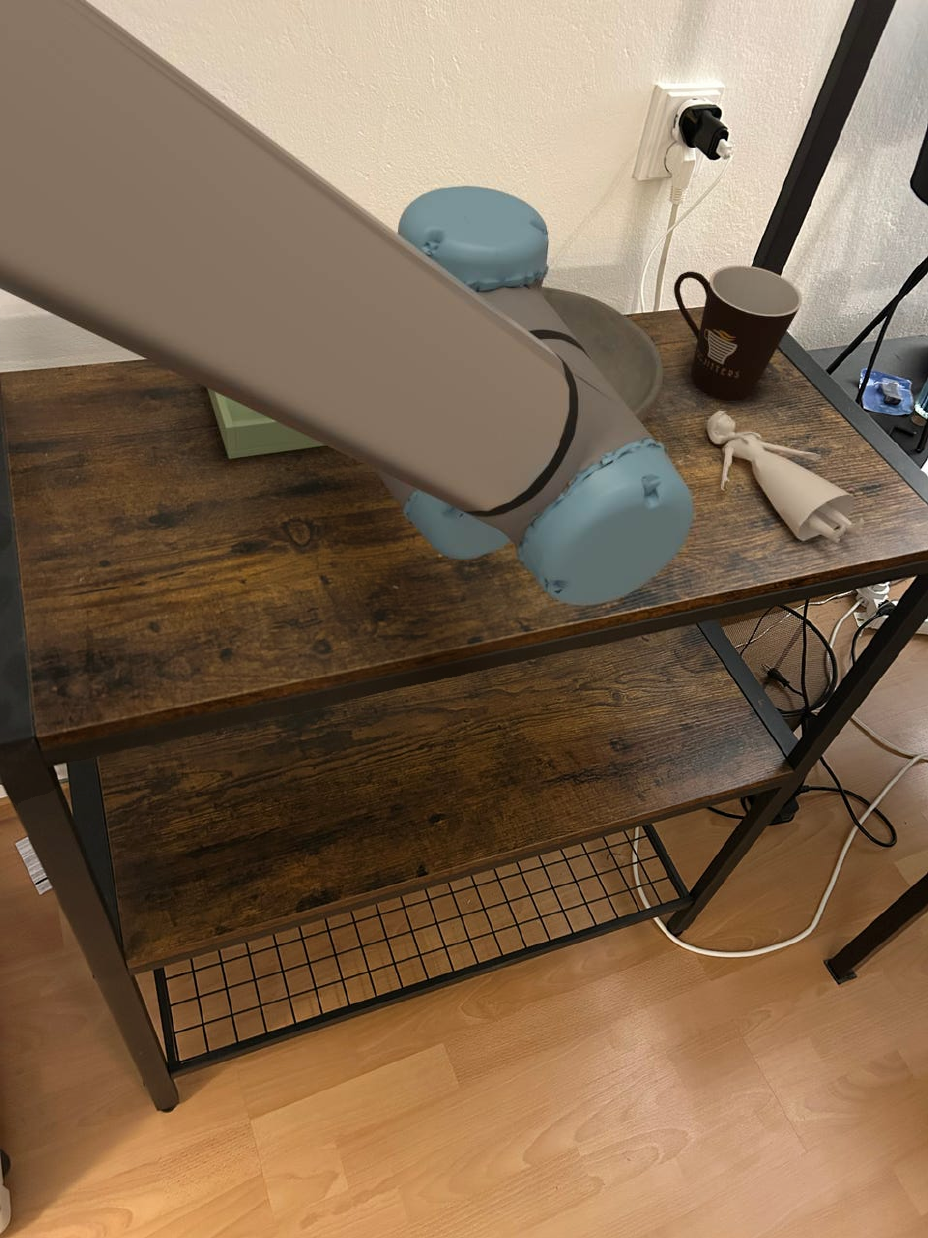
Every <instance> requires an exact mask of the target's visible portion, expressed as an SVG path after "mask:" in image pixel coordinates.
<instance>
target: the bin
mask: <svg viewBox="0 0 928 1238" xmlns="http://www.w3.org/2000/svg"><path fill="white" fill-rule="evenodd" d="M206 391H207V393H208V396H209V399H210V402H211V405H212V410H213V412H214V416H215V419H216V421H217V425H218V429H219V432H220V434H221V438H222V441H223V444H224V447H225V451H226V454H227V457H228V459H229V460H232V459H239V458H247V457H252V456H260V455H268V454H273V453H274V454H275V453H282V452H289V451H296V450H304V449H311V448H316V447H325V446H326V445H325V444H322V443H320V442H318V441H316V440H314V439H312V438H310V437H308V436H306V435H304V434H302V433H300V432H297V431H295V430H293V429H291V428H289V427H287V426H285V425H283V424H281V423H279V422H277V421H275V420H273V419H270V418H268V417H266V416H264V415H262V414H260V413H258V412H256V411H254V410H252V409H250V408H248V407H245V406H243V405H241V404H239V403H237V402H235V401H233V400H231V399H229V398H227V397H225V396H223V395H221V394H218V393H216V392H214V391H212V390H210V389H208V388H206Z"/></svg>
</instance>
